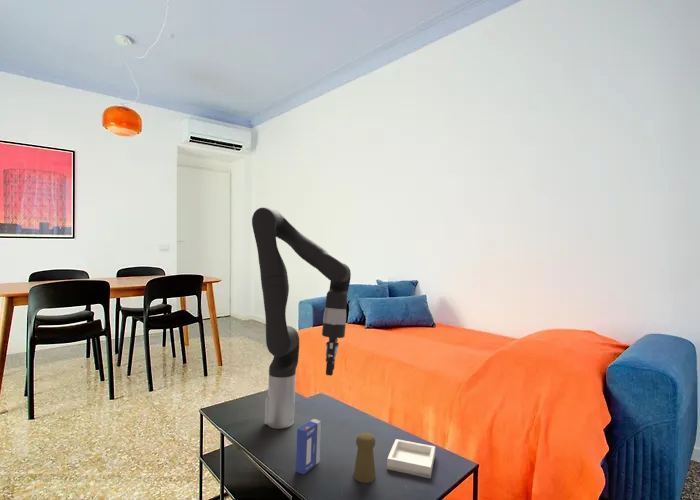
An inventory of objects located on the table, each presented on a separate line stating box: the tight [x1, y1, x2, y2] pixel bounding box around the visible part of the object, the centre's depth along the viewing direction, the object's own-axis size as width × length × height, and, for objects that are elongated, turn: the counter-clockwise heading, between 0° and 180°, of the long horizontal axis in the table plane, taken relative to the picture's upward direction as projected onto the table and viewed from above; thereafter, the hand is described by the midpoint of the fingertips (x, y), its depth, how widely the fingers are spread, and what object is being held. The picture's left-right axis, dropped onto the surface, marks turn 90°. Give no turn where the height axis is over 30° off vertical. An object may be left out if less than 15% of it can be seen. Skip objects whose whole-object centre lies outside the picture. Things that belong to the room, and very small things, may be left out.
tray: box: [386, 438, 436, 479], centre depth 110 cm, size 12×12×3 cm
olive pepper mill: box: [352, 432, 376, 484], centre depth 103 cm, size 6×6×11 cm
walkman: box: [295, 418, 322, 475], centre depth 106 cm, size 8×3×12 cm, turn 150°
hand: (329, 372), depth 124 cm, fingers open, 8 cm apart
